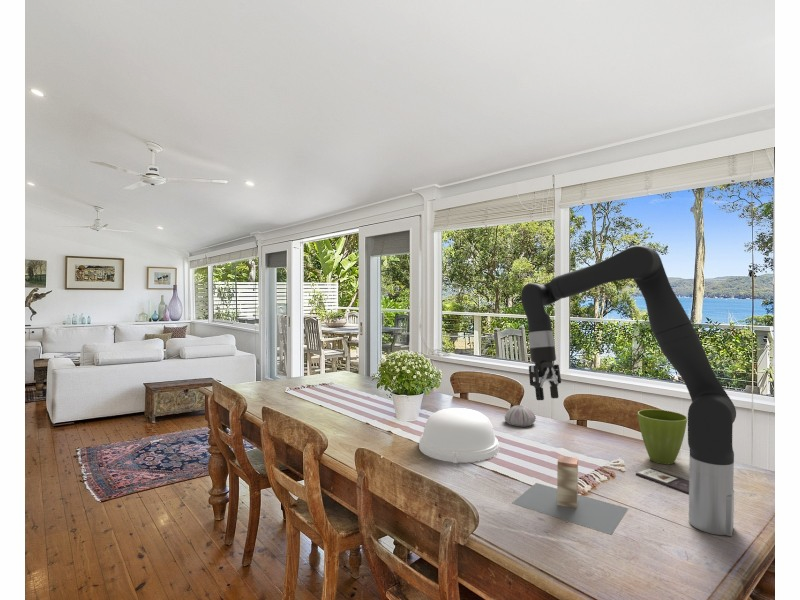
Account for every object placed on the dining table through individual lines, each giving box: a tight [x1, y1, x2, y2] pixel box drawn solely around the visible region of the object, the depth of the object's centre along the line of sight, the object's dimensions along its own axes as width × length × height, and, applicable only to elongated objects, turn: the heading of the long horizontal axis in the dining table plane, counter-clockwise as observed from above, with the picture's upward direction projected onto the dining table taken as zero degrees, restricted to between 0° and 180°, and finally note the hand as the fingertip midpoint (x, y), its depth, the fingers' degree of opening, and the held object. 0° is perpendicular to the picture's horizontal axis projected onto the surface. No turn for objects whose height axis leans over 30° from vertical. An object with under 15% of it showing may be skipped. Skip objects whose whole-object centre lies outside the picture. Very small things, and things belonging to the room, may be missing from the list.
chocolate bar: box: [635, 467, 689, 495], centre depth 142 cm, size 9×1×18 cm
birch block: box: [556, 455, 579, 508], centre depth 128 cm, size 5×5×12 cm
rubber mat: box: [511, 482, 630, 536], centre depth 126 cm, size 26×17×1 cm, turn 51°
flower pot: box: [637, 408, 688, 465], centre depth 160 cm, size 15×15×16 cm
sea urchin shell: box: [504, 404, 537, 428], centre depth 204 cm, size 13×14×8 cm
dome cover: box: [418, 407, 500, 464], centre depth 173 cm, size 32×30×14 cm
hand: (547, 399), depth 141 cm, fingers open, 8 cm apart
